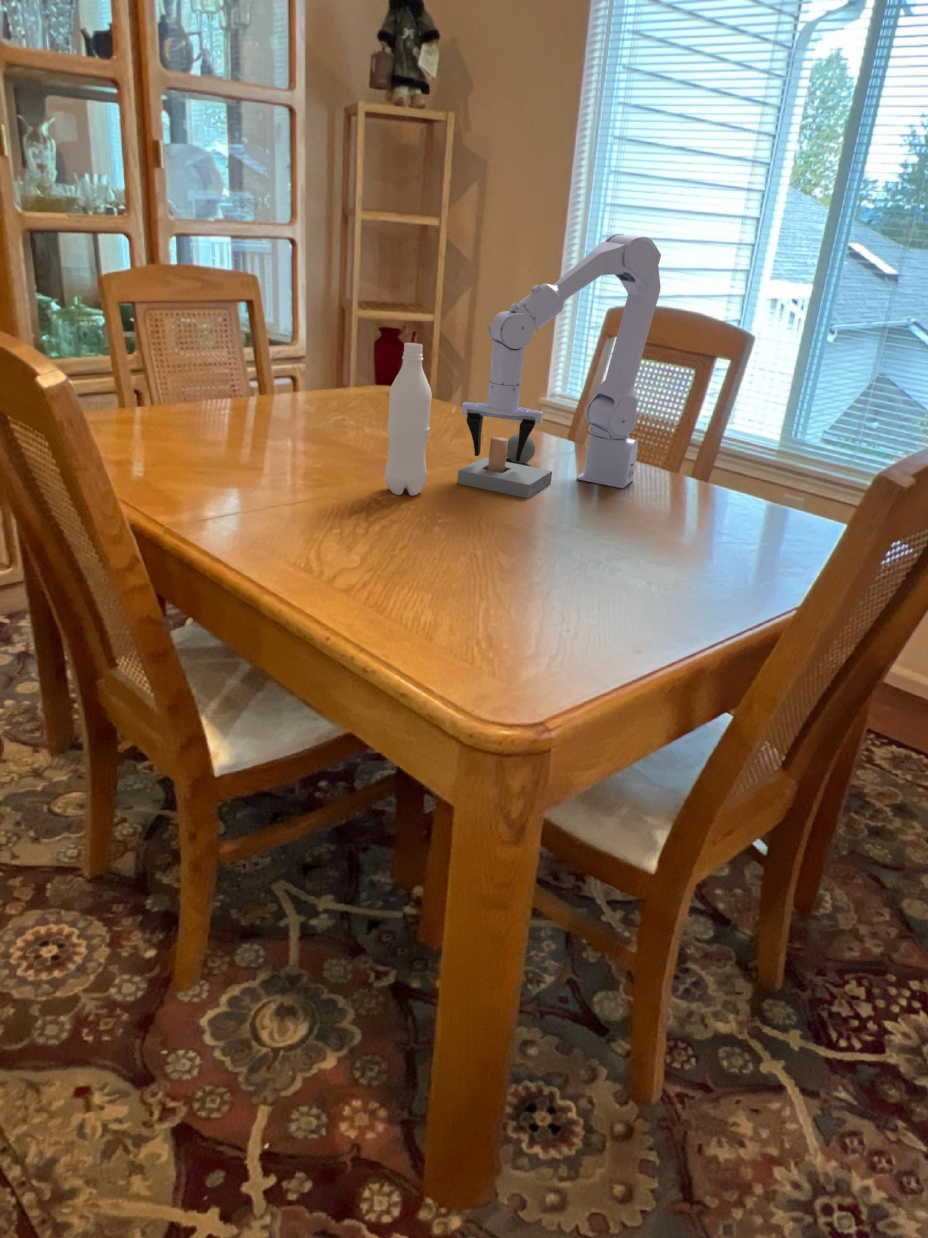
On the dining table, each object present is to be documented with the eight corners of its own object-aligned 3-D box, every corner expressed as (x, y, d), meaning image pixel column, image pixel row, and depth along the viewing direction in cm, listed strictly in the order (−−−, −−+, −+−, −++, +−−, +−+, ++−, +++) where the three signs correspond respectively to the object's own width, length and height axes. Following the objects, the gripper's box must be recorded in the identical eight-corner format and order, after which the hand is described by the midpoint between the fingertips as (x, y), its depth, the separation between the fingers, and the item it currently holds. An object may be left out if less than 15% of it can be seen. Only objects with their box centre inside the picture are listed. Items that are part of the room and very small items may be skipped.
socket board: (550, 483, 168) (552, 470, 167) (527, 498, 158) (529, 484, 157) (483, 469, 173) (484, 457, 172) (457, 483, 163) (458, 470, 162)
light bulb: (515, 444, 187) (546, 443, 179) (503, 469, 186) (533, 469, 178) (496, 428, 183) (526, 427, 175) (483, 453, 182) (513, 453, 174)
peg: (504, 480, 168) (508, 438, 165) (502, 484, 165) (507, 442, 162) (487, 478, 168) (491, 436, 165) (485, 482, 165) (490, 440, 162)
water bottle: (419, 500, 152) (429, 349, 141) (379, 494, 153) (386, 344, 143) (429, 489, 158) (439, 344, 148) (390, 483, 159) (398, 339, 149)
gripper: (547, 383, 162) (538, 456, 167) (468, 374, 163) (462, 447, 169) (543, 390, 155) (534, 466, 161) (462, 380, 157) (456, 456, 163)
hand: (497, 457), depth 164 cm, fingers open, 7 cm apart
